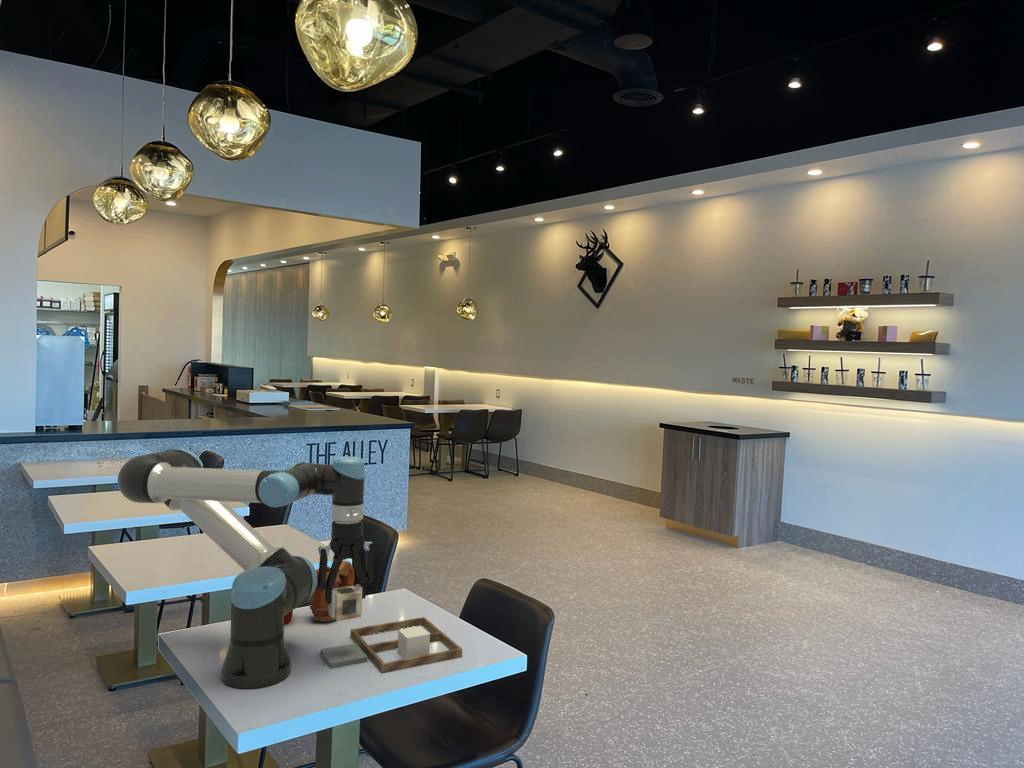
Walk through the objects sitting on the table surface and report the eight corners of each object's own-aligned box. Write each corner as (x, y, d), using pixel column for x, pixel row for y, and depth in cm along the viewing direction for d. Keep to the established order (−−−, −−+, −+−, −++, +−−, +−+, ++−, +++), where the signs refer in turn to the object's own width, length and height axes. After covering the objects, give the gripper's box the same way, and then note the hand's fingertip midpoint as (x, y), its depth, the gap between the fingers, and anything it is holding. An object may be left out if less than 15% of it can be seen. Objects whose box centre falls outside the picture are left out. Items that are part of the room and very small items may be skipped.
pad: (330, 668, 169) (330, 663, 169) (320, 654, 177) (320, 649, 177) (367, 661, 174) (367, 656, 174) (355, 647, 182) (355, 643, 181)
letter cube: (336, 621, 171) (337, 596, 170) (329, 612, 176) (330, 588, 176) (361, 617, 174) (361, 592, 173) (353, 609, 179) (354, 585, 179)
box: (381, 673, 168) (382, 664, 168) (350, 636, 188) (350, 629, 188) (461, 656, 178) (462, 648, 178) (423, 624, 199) (424, 617, 199)
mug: (323, 627, 194) (324, 573, 193) (302, 620, 198) (304, 567, 198) (361, 612, 206) (363, 561, 206) (341, 606, 211) (343, 556, 210)
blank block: (406, 662, 174) (407, 638, 174) (397, 653, 180) (398, 629, 179) (429, 657, 177) (429, 634, 177) (419, 648, 183) (420, 625, 182)
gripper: (312, 527, 166) (310, 625, 167) (389, 520, 176) (387, 613, 176) (304, 520, 172) (302, 614, 173) (379, 514, 182) (377, 603, 183)
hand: (345, 613), depth 175 cm, fingers closed on letter cube, 6 cm apart
